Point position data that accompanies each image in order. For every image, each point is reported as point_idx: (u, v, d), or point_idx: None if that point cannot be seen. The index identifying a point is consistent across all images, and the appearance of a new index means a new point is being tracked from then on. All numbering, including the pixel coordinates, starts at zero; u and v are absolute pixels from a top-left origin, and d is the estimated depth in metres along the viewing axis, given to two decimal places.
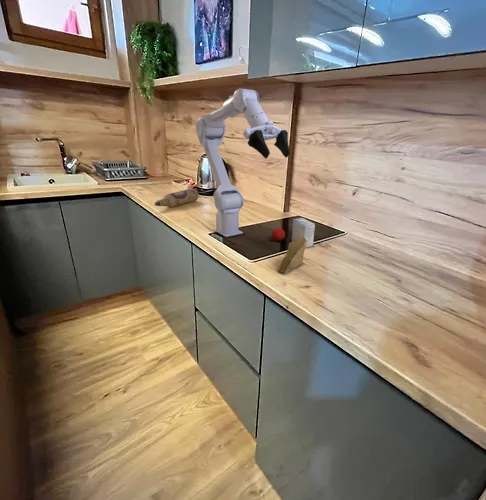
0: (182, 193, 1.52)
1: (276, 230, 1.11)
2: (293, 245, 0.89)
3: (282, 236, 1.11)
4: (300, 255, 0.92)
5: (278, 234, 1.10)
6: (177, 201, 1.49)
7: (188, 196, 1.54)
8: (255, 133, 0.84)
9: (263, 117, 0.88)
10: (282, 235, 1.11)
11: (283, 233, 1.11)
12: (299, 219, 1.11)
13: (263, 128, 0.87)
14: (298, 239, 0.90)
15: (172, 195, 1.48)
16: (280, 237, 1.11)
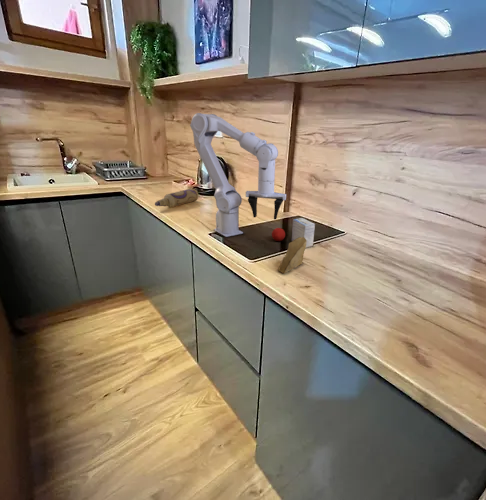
0: (182, 193, 1.52)
1: (276, 230, 1.11)
2: (293, 245, 0.89)
3: (282, 236, 1.11)
4: (300, 255, 0.92)
5: (278, 234, 1.10)
6: (177, 201, 1.49)
7: (188, 196, 1.54)
8: (248, 201, 1.08)
9: (263, 186, 1.04)
10: (282, 235, 1.11)
11: (283, 233, 1.11)
12: (299, 219, 1.11)
13: (259, 195, 1.07)
14: (298, 239, 0.90)
15: (172, 195, 1.48)
16: (280, 237, 1.11)
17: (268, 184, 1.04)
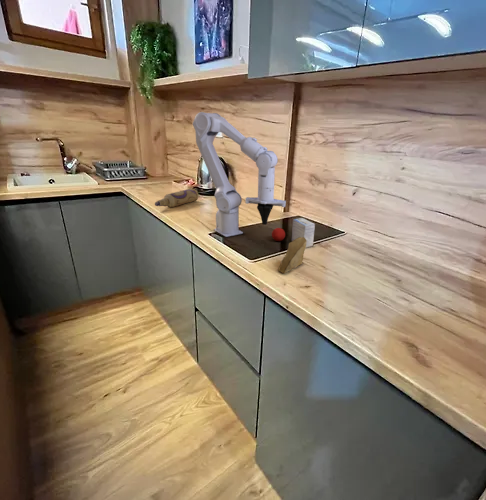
0: (182, 193, 1.52)
1: (276, 230, 1.11)
2: (293, 245, 0.89)
3: (282, 236, 1.11)
4: (300, 255, 0.92)
5: (278, 234, 1.10)
6: (177, 201, 1.49)
7: (188, 196, 1.54)
8: None
9: (263, 193, 1.05)
10: (282, 235, 1.11)
11: (283, 233, 1.11)
12: (299, 219, 1.11)
13: None
14: (298, 239, 0.90)
15: (172, 195, 1.47)
16: (280, 237, 1.11)
17: (268, 191, 1.05)
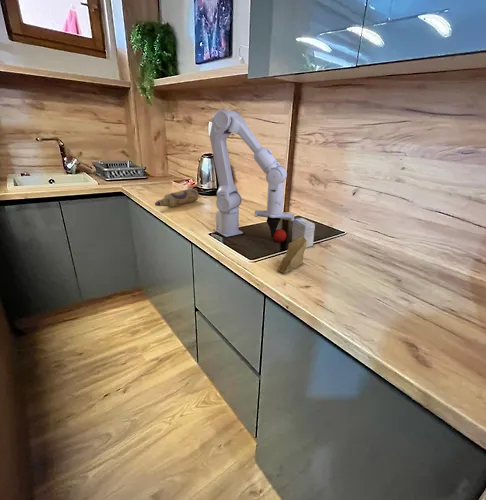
0: (182, 193, 1.52)
1: (279, 231, 1.11)
2: (293, 245, 0.89)
3: (283, 238, 1.11)
4: (300, 255, 0.92)
5: (280, 236, 1.11)
6: (177, 201, 1.49)
7: (188, 196, 1.54)
8: (267, 221, 1.10)
9: (272, 207, 1.07)
10: (284, 237, 1.11)
11: (285, 236, 1.12)
12: (299, 219, 1.11)
13: None
14: (298, 239, 0.90)
15: (172, 195, 1.47)
16: (281, 239, 1.11)
17: (277, 205, 1.06)
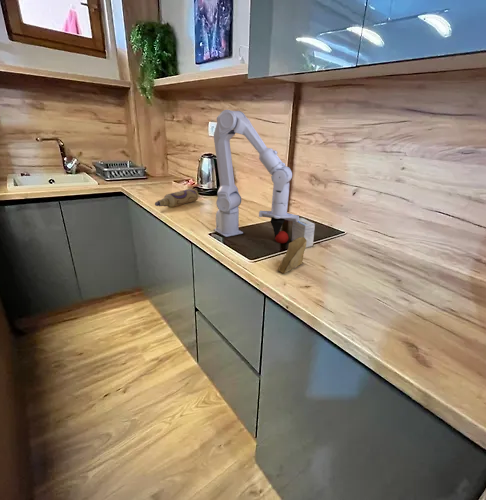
0: (182, 193, 1.52)
1: (282, 233, 1.11)
2: (293, 245, 0.89)
3: (284, 242, 1.12)
4: (300, 255, 0.92)
5: (283, 239, 1.11)
6: (177, 201, 1.49)
7: (188, 196, 1.54)
8: (271, 222, 1.10)
9: (277, 208, 1.06)
10: (285, 241, 1.12)
11: (287, 239, 1.12)
12: (299, 219, 1.11)
13: None
14: (298, 239, 0.90)
15: (172, 195, 1.47)
16: (282, 242, 1.11)
17: (282, 206, 1.06)
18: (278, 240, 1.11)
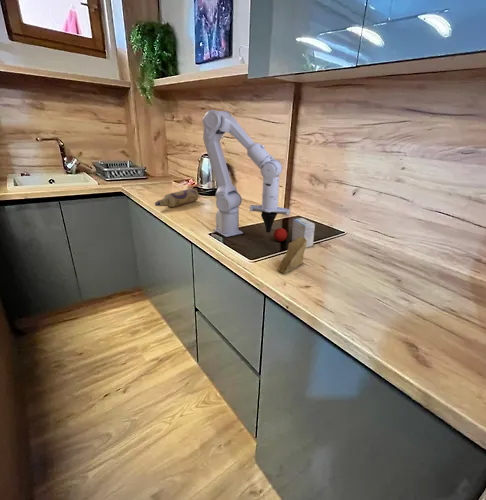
0: (182, 193, 1.52)
1: (280, 230, 1.11)
2: (293, 245, 0.89)
3: (284, 238, 1.11)
4: (300, 255, 0.92)
5: (281, 235, 1.10)
6: (177, 201, 1.49)
7: (188, 196, 1.54)
8: None
9: (267, 201, 1.06)
10: (284, 237, 1.11)
11: (285, 235, 1.11)
12: (299, 219, 1.11)
13: None
14: (298, 239, 0.90)
15: (172, 195, 1.47)
16: (282, 238, 1.11)
17: (272, 199, 1.06)
18: (277, 238, 1.11)
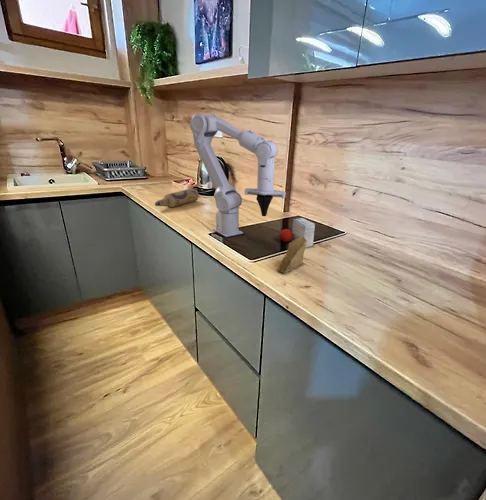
0: (182, 193, 1.52)
1: (290, 234, 1.10)
2: (293, 245, 0.89)
3: (286, 241, 1.11)
4: (300, 255, 0.92)
5: (287, 239, 1.10)
6: (177, 201, 1.49)
7: (188, 196, 1.54)
8: None
9: (262, 184, 1.04)
10: (288, 241, 1.11)
11: (289, 241, 1.12)
12: (299, 219, 1.11)
13: None
14: (298, 239, 0.90)
15: (172, 195, 1.47)
16: (285, 241, 1.11)
17: (267, 182, 1.03)
18: (282, 237, 1.10)
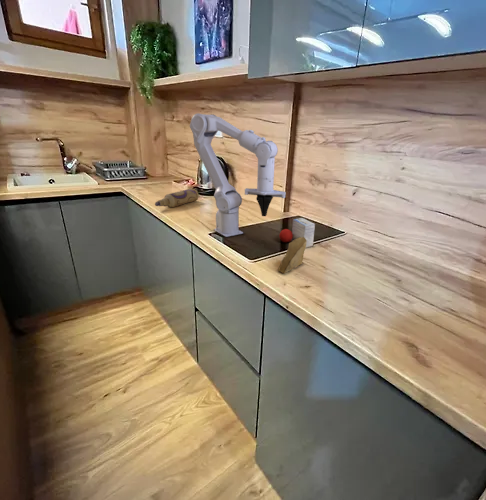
0: (182, 193, 1.52)
1: (289, 234, 1.10)
2: (293, 245, 0.89)
3: (286, 241, 1.11)
4: (300, 255, 0.92)
5: (287, 239, 1.10)
6: (177, 201, 1.49)
7: (188, 196, 1.54)
8: None
9: (262, 184, 1.04)
10: (288, 241, 1.11)
11: (289, 241, 1.12)
12: (299, 219, 1.11)
13: None
14: (298, 239, 0.90)
15: (172, 195, 1.47)
16: (285, 241, 1.11)
17: (267, 182, 1.03)
18: (282, 237, 1.10)
